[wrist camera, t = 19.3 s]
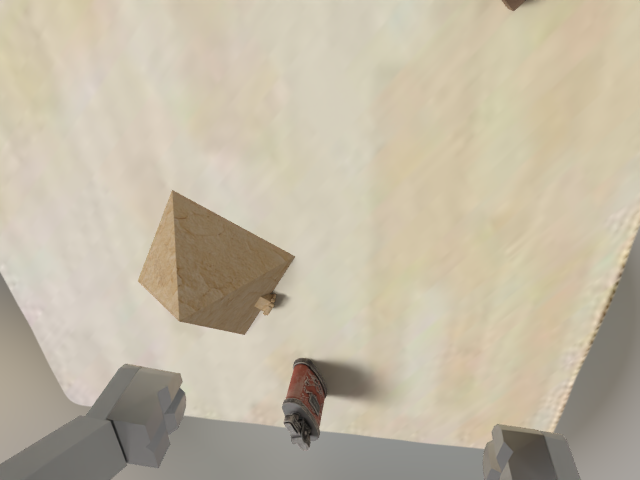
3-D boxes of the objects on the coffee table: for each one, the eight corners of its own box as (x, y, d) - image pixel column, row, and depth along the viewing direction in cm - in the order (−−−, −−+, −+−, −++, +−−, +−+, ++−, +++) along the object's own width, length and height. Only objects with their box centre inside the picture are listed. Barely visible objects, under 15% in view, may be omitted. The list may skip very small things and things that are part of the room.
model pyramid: (250, 336, 61) (226, 395, 52) (137, 279, 58) (92, 331, 50) (303, 256, 52) (284, 312, 43) (172, 185, 49) (125, 229, 41)
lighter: (331, 393, 64) (321, 457, 55) (311, 396, 65) (297, 459, 56) (310, 356, 60) (295, 418, 52) (289, 360, 61) (271, 421, 53)
